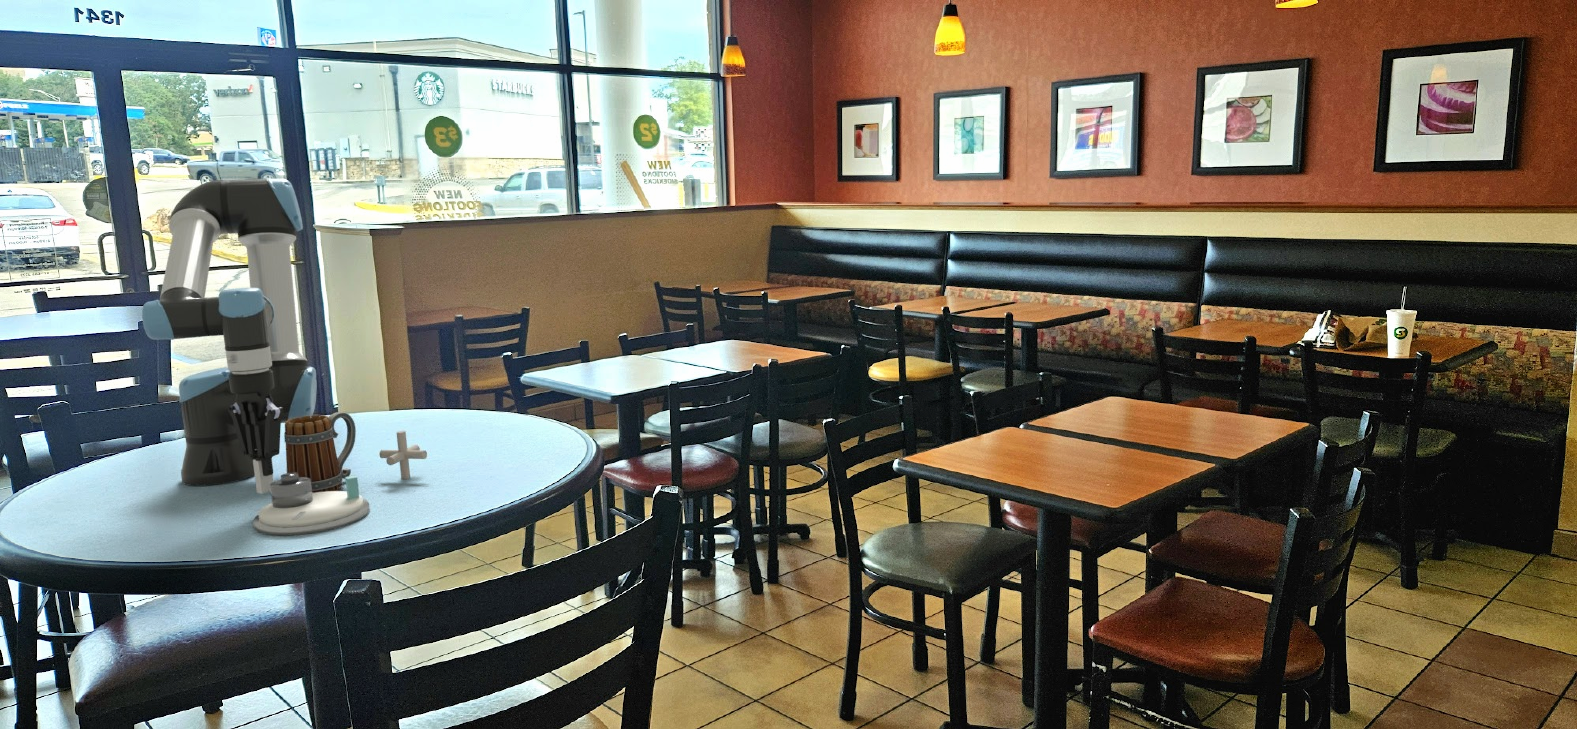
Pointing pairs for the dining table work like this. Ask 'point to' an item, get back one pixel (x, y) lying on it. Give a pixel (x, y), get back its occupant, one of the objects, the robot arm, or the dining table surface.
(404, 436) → the pipe connector
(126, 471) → the dining table surface
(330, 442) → the mug
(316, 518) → the turntable
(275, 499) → the cover
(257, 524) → the turntable base
